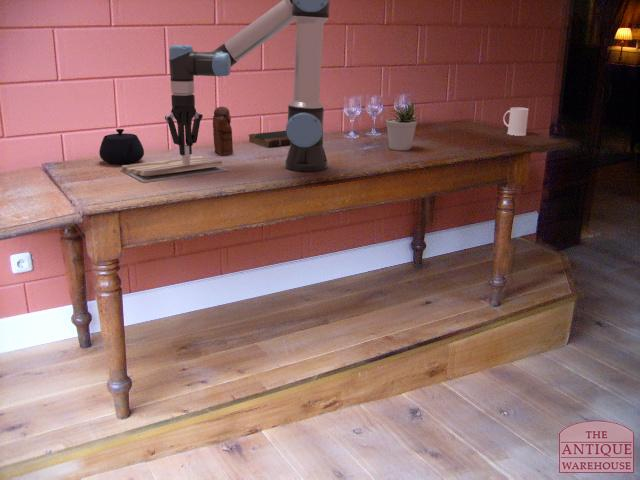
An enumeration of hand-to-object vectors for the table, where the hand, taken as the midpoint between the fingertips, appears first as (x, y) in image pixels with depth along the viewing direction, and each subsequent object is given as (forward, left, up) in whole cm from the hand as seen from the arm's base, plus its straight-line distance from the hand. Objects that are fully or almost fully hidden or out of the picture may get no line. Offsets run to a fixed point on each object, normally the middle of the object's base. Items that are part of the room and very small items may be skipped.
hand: (186, 164), depth 224 cm
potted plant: (-8, -92, -4) cm, 93 cm away
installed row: (+12, +2, -3) cm, 13 cm away
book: (+31, -60, -4) cm, 67 cm away
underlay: (+6, +2, -3) cm, 7 cm away
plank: (+3, +2, -2) cm, 4 cm away
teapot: (+28, +12, -4) cm, 30 cm away
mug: (-10, -162, -4) cm, 163 cm away
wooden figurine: (+24, -27, -4) cm, 36 cm away
